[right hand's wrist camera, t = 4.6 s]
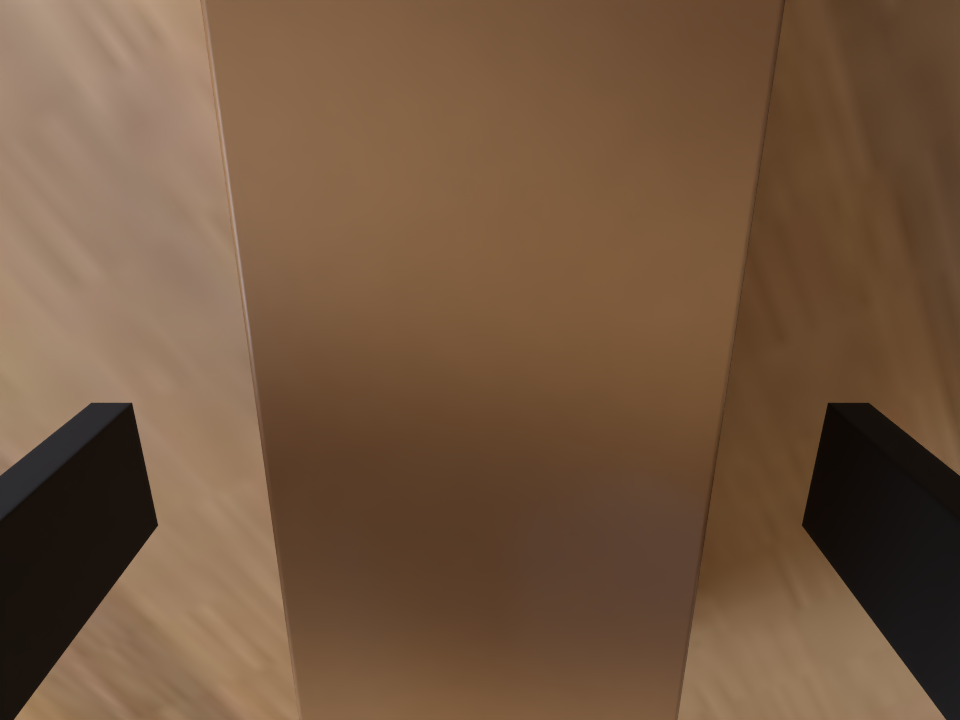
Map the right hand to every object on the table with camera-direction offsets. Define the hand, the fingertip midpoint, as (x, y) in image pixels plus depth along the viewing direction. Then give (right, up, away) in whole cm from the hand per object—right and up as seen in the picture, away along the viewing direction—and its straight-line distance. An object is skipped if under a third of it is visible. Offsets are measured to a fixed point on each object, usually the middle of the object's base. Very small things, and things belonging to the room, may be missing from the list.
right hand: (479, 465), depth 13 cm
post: (0, +30, -9) cm, 31 cm away
